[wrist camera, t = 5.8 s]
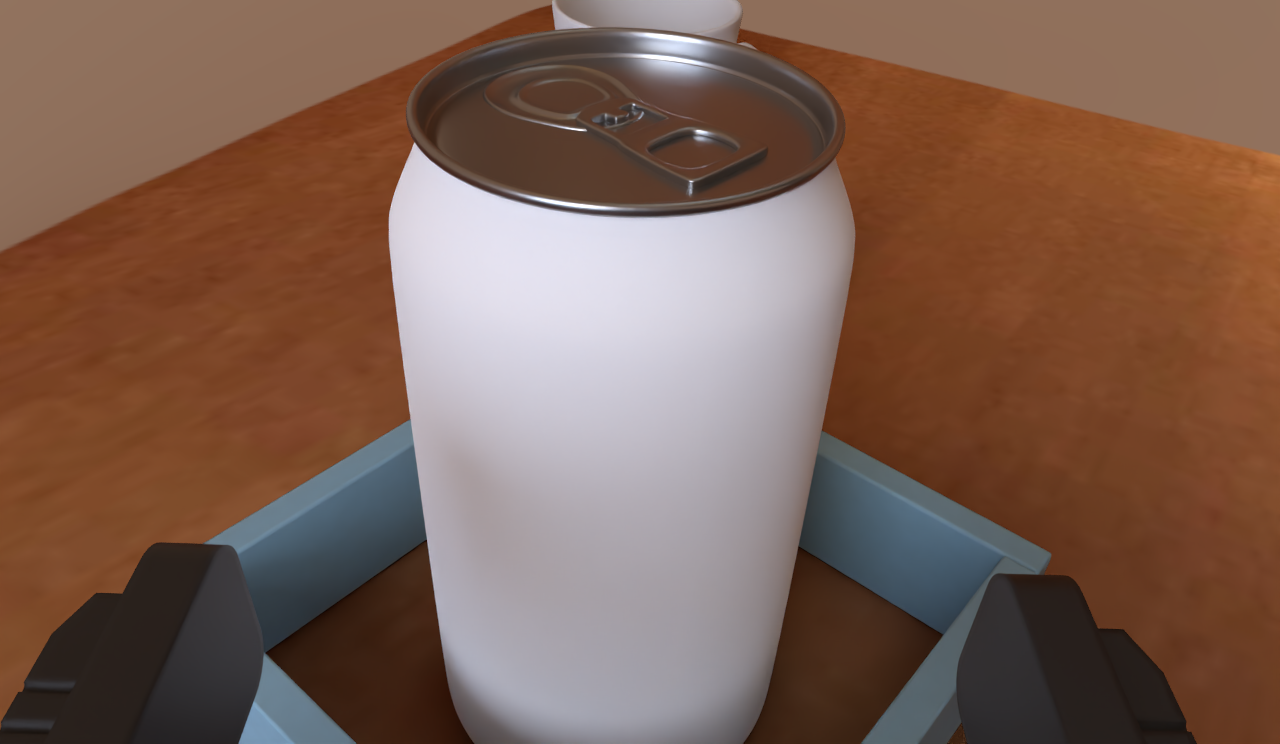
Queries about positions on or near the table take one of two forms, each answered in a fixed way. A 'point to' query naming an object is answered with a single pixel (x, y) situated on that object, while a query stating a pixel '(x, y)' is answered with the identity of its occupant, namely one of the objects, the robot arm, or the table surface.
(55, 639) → the robot arm
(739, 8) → the teacup
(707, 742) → the can
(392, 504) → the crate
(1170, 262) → the table surface
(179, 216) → the table surface
